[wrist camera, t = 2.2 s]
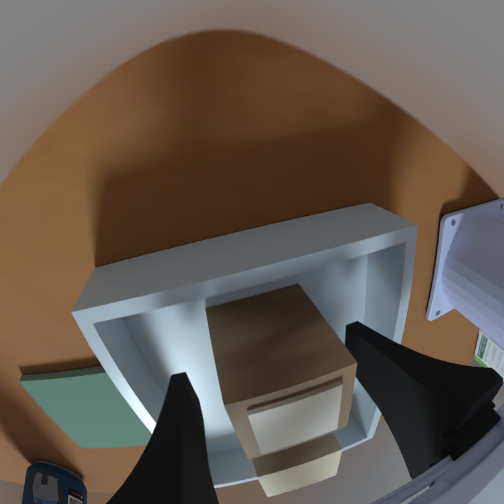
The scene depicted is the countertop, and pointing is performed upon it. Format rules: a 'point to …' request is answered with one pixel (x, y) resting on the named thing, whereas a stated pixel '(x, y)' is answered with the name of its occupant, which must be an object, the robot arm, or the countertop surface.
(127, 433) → the mat
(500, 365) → the syrup box
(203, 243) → the bin
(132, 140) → the countertop surface
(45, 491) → the soda can
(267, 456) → the birch block
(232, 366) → the brown wooden block
